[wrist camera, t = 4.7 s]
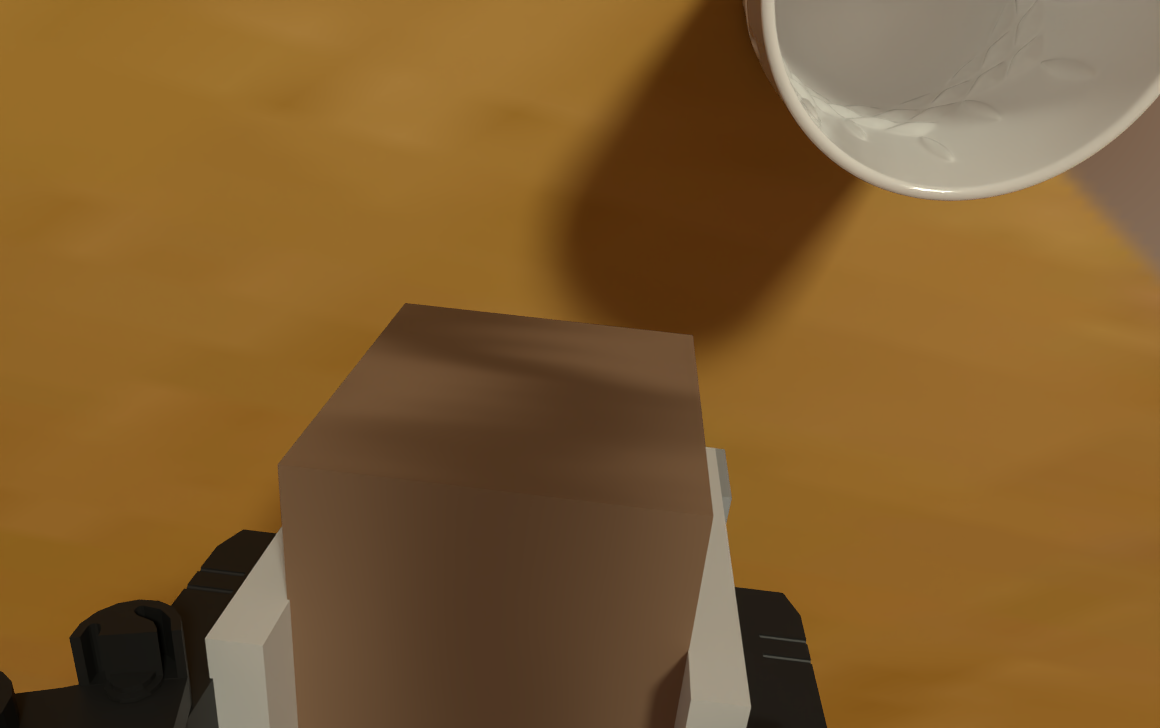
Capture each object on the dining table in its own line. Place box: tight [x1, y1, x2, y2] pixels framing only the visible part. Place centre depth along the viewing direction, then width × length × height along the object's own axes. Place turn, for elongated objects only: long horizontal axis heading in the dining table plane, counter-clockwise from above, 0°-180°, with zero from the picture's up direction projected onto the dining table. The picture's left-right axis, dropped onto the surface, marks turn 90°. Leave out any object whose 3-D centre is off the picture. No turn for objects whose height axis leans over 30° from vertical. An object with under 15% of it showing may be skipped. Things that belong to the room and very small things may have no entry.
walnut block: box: [278, 303, 714, 728], centre depth 15 cm, size 6×7×6 cm
